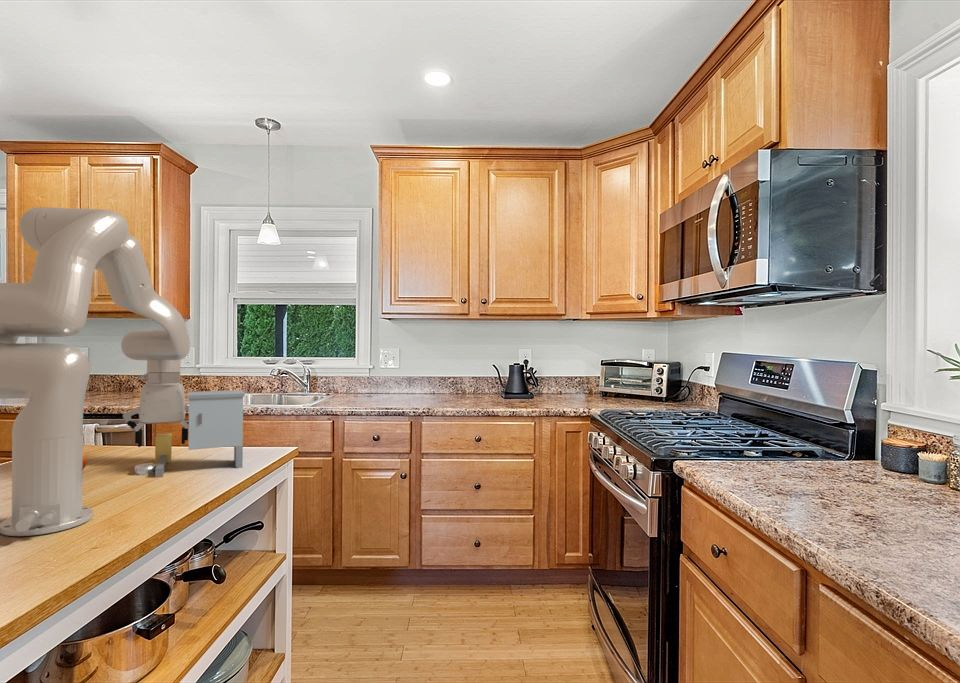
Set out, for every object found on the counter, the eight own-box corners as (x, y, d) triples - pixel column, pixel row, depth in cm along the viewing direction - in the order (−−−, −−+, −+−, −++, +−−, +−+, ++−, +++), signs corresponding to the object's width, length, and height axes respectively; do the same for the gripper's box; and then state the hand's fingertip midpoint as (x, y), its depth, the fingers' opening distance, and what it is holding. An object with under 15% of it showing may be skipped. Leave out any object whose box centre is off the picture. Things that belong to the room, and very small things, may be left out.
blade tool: (167, 476, 122) (168, 446, 122) (150, 477, 121) (150, 447, 121) (171, 459, 139) (171, 433, 139) (156, 460, 137) (156, 434, 137)
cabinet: (243, 467, 131) (244, 393, 131) (186, 473, 125) (187, 395, 125) (241, 460, 139) (242, 390, 139) (187, 465, 133) (188, 391, 133)
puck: (156, 474, 124) (156, 466, 124) (133, 476, 122) (133, 468, 122) (157, 470, 128) (157, 462, 128) (135, 472, 126) (135, 464, 126)
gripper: (121, 380, 128) (120, 449, 128) (201, 379, 136) (199, 444, 136) (125, 378, 135) (124, 444, 134) (201, 377, 143) (199, 440, 143)
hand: (162, 444), depth 135 cm, fingers open, 9 cm apart
